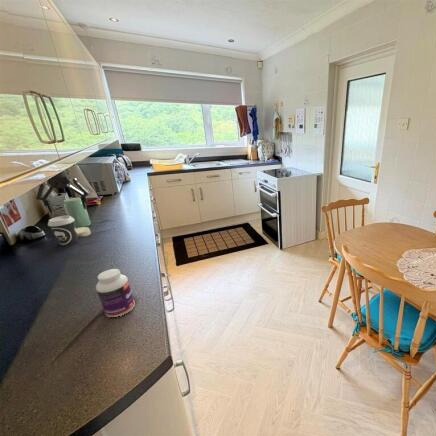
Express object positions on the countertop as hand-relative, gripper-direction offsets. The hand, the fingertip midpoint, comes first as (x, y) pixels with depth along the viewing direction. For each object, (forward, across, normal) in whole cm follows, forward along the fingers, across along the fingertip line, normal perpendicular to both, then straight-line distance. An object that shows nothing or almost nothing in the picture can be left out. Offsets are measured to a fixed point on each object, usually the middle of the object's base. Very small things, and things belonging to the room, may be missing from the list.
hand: (69, 210), depth 122 cm
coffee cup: (+15, 0, +13) cm, 20 cm away
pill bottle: (+15, -28, +78) cm, 84 cm away
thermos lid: (+13, -1, 0) cm, 13 cm away
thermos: (+15, +2, -18) cm, 23 cm away
